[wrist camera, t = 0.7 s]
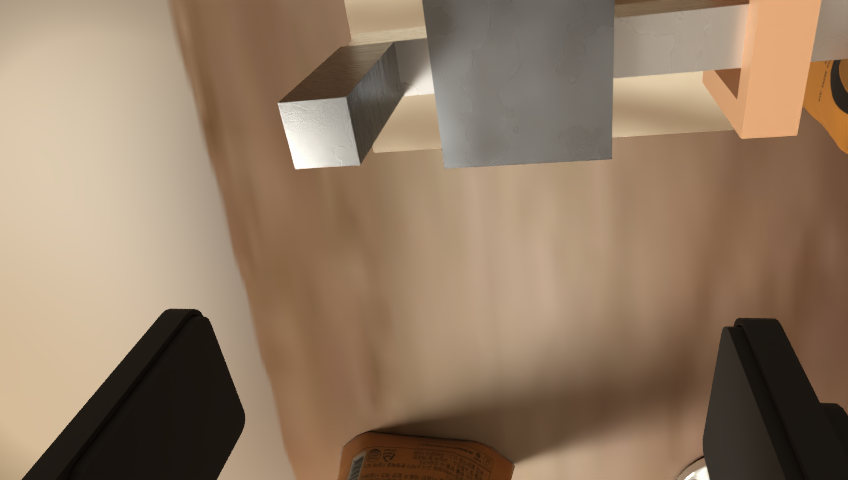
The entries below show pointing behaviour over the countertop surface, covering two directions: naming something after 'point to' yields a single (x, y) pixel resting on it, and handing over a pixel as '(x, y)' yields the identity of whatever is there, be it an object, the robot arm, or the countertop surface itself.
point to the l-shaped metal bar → (411, 75)
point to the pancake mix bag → (420, 459)
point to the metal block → (522, 80)
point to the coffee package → (829, 98)
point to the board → (632, 96)
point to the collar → (768, 69)
